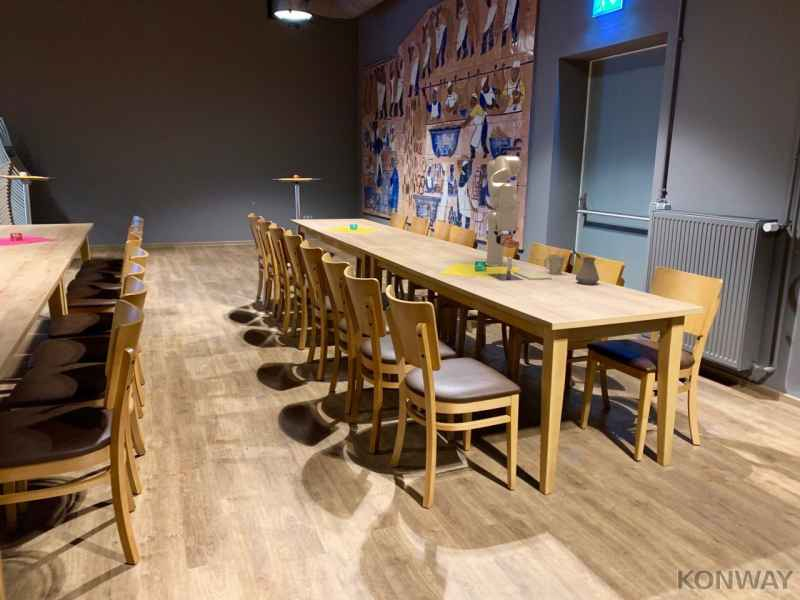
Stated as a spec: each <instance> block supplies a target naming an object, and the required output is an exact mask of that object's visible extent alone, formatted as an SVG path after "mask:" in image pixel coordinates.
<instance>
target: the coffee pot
mask: <svg viewBox="0 0 800 600" xmlns="http://www.w3.org/2000/svg"><path fill="white" fill-rule="evenodd" d="M571 252H572V253H573V254H575V256H576V257H577V258H578V259H579V260H581V262H582V264H581V266H580V268H579V270H578V272H577V273H576V276H575V279H576V281H577V282H578V284H582V285H588V286H590V285H595V284H596V283H598V281H600V276H599V273H598V270H597V267H596V264H595V260H596V257H591V256H584V257H581V255H580V254H579V253H578V252H577V251H576V250H575V249H571Z"/></svg>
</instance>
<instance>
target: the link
mask: <svg viewBox="0 0 800 600" xmlns="http://www.w3.org/2000/svg"><path fill="white" fill-rule="evenodd" d="M500 237H501V238H500V244H499V245H502V246H504V248H507V249H517V248H519V246H520V241H518V240H515V239H513V237H512V235H509V233H504V234H500ZM511 237H512V239H511Z"/></svg>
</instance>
